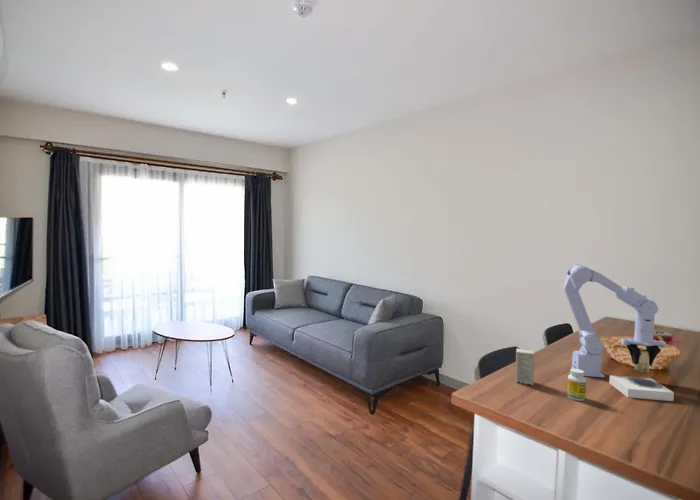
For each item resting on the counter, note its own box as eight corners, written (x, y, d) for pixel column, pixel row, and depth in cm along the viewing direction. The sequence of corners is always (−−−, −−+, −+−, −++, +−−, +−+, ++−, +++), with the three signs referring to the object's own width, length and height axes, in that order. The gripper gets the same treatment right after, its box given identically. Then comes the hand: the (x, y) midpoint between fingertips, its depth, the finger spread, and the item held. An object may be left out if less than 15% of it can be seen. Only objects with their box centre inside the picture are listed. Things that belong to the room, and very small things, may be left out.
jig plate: (627, 397, 126) (628, 388, 126) (609, 383, 138) (609, 375, 138) (673, 401, 124) (673, 392, 124) (650, 386, 136) (651, 378, 136)
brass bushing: (638, 371, 140) (639, 351, 139) (631, 367, 144) (633, 347, 144) (651, 372, 139) (652, 352, 138) (644, 368, 143) (645, 348, 143)
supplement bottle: (571, 392, 129) (572, 366, 129) (588, 398, 125) (589, 371, 124) (563, 396, 126) (565, 369, 126) (580, 402, 122) (581, 374, 121)
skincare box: (533, 381, 139) (534, 350, 138) (533, 386, 135) (535, 353, 134) (515, 378, 141) (516, 347, 141) (514, 382, 137) (516, 351, 136)
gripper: (629, 331, 138) (627, 366, 139) (672, 333, 135) (670, 369, 136) (618, 326, 145) (616, 359, 146) (660, 328, 142) (657, 362, 143)
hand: (641, 364), depth 141 cm, fingers closed on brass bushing, 4 cm apart
